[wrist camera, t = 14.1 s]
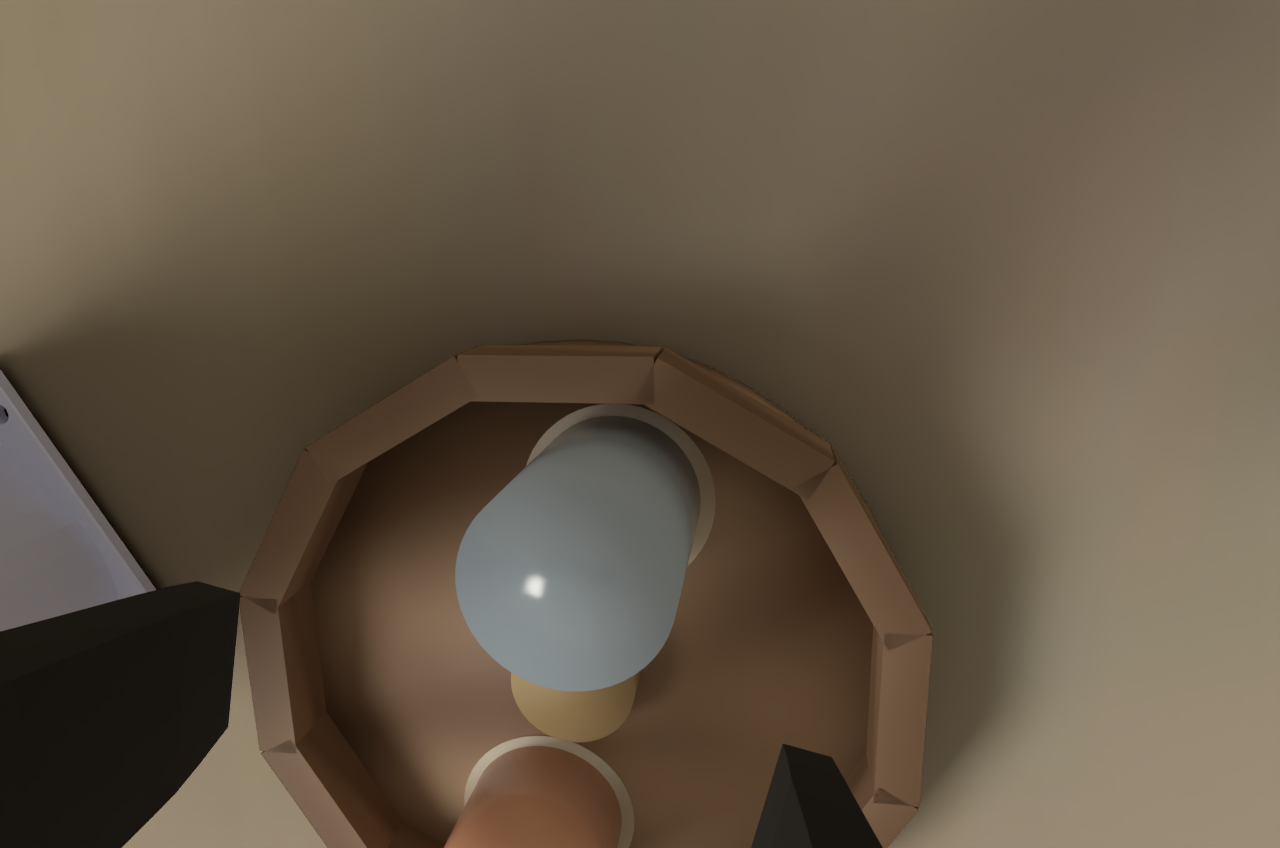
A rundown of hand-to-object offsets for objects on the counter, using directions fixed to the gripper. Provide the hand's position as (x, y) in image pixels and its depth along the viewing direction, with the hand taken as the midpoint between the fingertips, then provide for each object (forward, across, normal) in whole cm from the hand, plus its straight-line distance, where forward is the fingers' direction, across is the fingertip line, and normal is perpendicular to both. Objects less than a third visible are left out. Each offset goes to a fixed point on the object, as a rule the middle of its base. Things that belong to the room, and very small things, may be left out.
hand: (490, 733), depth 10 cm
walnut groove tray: (+10, 0, +4) cm, 11 cm away
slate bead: (+9, 0, 0) cm, 9 cm away
